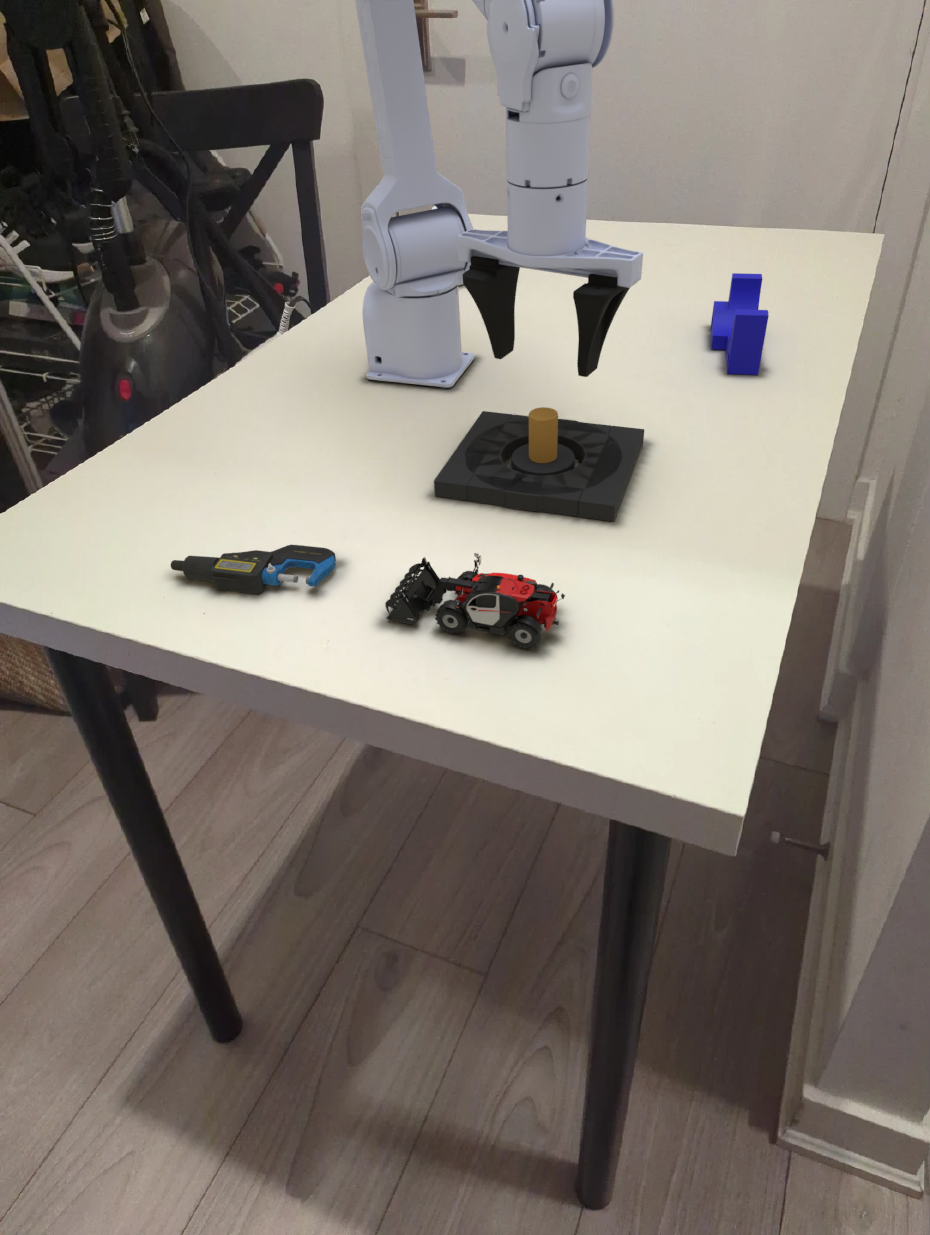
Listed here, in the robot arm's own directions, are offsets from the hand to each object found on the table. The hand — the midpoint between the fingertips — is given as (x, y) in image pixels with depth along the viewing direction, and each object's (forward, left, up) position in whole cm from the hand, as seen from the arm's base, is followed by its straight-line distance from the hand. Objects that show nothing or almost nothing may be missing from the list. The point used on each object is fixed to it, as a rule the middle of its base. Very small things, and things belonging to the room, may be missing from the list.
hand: (544, 362), depth 70 cm
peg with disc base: (0, -1, -9) cm, 9 cm away
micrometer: (-16, -21, -9) cm, 28 cm away
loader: (+1, -22, -9) cm, 24 cm away
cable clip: (+13, +28, -9) cm, 32 cm away
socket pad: (0, -1, -9) cm, 9 cm away
